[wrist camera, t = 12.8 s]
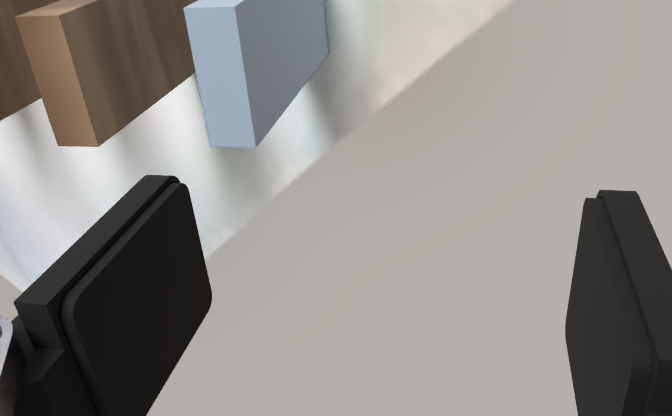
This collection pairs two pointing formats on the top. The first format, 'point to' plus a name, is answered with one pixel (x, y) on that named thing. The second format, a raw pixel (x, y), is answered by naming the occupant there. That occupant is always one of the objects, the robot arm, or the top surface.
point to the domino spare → (252, 62)
